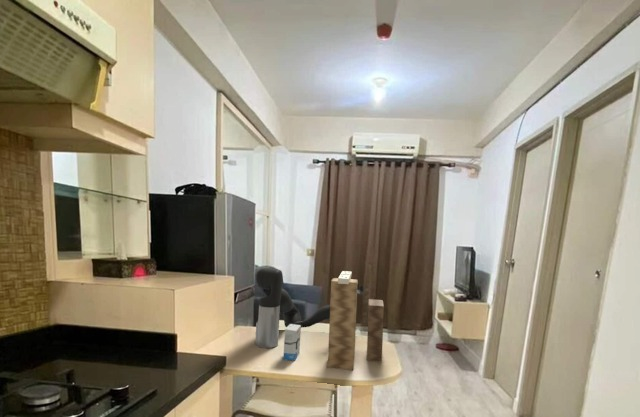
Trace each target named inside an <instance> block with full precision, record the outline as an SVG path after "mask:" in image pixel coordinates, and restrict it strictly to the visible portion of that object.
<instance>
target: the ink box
mask: <svg viewBox="0 0 640 417" xmlns="http://www.w3.org/2000/svg"><path fill="white" fill-rule="evenodd" d="M301 330H302V329H301V325H295V324H290V325H289V326H287V327H285V329H284V340H283V360H286V361H296V359H297V358H298V356H299V355H300V351H301V349H300V347H301V334H302V333H301Z"/></svg>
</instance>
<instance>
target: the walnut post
mask: <svg viewBox="0 0 640 417" xmlns="http://www.w3.org/2000/svg"><path fill="white" fill-rule="evenodd" d="M384 305H385V304H384V301H383V300H382V299H371V298H368V313H367V316H368V317H367V338H366V339H367V340H366V341H367V342H366V361H370V362H371V361H373V362H381V361H382V362H383V340H384V339H383V338H384V311H385V310H384V308H385V306H384Z"/></svg>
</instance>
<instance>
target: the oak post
mask: <svg viewBox="0 0 640 417" xmlns="http://www.w3.org/2000/svg"><path fill="white" fill-rule="evenodd" d="M330 281H331V282H330V283H331V285H330V302H329V305H330V319H329V328H328V347H327V348H328V350H327V351H328V353H327V361H326V368H330V369H331V368H332V369H342V370H350V371H353V370H354V367H355V355H356V354H355V353H356V352H355V350H356V328H357V314H356V307H357V308H358V305H357V304H358V303H357V302H358V293H357V283H359V282H358V279H353V278H351V279H350V281H349V284H338V278H337V277H332V279H331V280H330Z"/></svg>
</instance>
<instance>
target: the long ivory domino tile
mask: <svg viewBox="0 0 640 417" xmlns="http://www.w3.org/2000/svg"><path fill="white" fill-rule="evenodd" d="M352 274H353V273H352V270H351V271H347V270H342V271H341V273H340V275H339V276H338V284H349V281H350V279H352Z"/></svg>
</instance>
